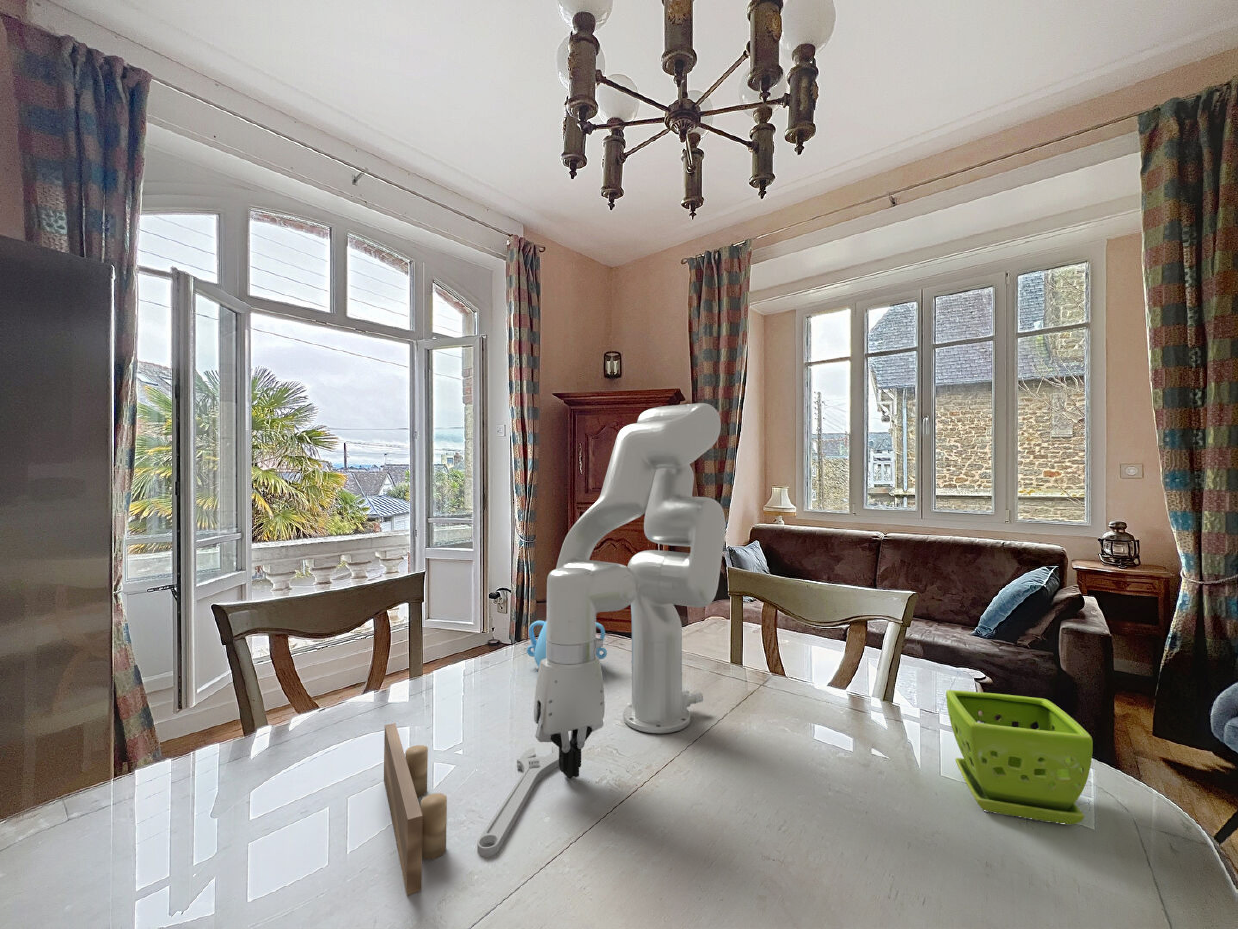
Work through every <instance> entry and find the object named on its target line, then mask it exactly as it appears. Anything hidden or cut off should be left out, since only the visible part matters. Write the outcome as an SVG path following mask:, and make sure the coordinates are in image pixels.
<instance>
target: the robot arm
mask: <svg viewBox="0 0 1238 929" xmlns="http://www.w3.org/2000/svg"><path fill="white" fill-rule="evenodd" d="M721 424H722V422H721V416H720V414H719V412H718V410H717V409H716V408H715V407H714V406H713V405H711V404H709V403H704V402H698V403H696V402H695V403H688V404H676V405H674V404H673V405H666V406H657V407H656V406H655V407H652V408H649V409H647V410H644V411H643V412H641V413H640V415H639V416H638V418H637V421H636V422H635V423H630V424H627V425H625V426H623V428H621V429H620V430H619V431H618V433H617V436H616V439H615V443H614V446H613V448H612V451H611V452H612V453H611V456H610V459H609V463H608V466H607V471H606V474H605V477H604V480H603V484H602V488H601V492H600V495H599V496H598V499H597V500H596V501H595V503H593V504H592V505H591V506H590V507H589V508H588V509H587V510H586V511H584V512H583V513H582V515H581V516H579V519H578V520H577V521H576V522H575V523H574V524H573V526H572V527H571V528H570V529H569V531H568V533H567V534H566V536H565V538H564V541H563V543H562V546H561V549H560V552H559V556H558V559H557V563H556V567H555V569H553V570H551V571H549V573H548V575H547V577H546V578H547V579H546V620H547V624H546V659H542V660H541V662H540V666H539V667H538V673H537V676H536V684H535V692H534V704H533V719H534V722H535V724H537V727H536V731H535V739H537V741H538V742H540V743H553V744H554V746H556V747H559V767H558V768H559V771H561V773H563V775H564V776H565V777H566V778H567V779H568V780H571V779H572V780H573V778H579V777H580V768H581V767H582V749H584V747H585V745H586V741H587V740H588V738H589V737H590V735H591V734H592V732H593V733H594V732H596V731H598V730H600V729H602V728H603V727H604V718H605V706H606V705H605V703H606V702H605V688H604V686H605V685H604V678H603V671H602V667H601V662H600V659H599V657H598V656H596V654H597V649H598V648H599V647H601V648H604V641H603V640H602V639H601V638H600V637H599V638H598V637H597V627H596V622H597V614H598V613H602V612H614V611H615V612H616V611H617V612H618V611H621V610H624V609H626V608H627V607H629V606H630V610H631V611H630V613H631V614H630V615H631V704H629V705H628V706H626V707H625V708H624V710H623V721H624V723H625V724H626V725H627V726H629V727H630V728H632V729H634V730H637V731H640V732H643V733H649V734H669V733H675V732H678V731H681V730H683V729H685V728H686V727H688V726H689V725H690V722H691V713H690V711H689V709H688V708H689V707H691V705H693V704H699V703H702V702H703V701H704V696H703V694H702V692H701V691H695V692H692V693H690V690H688V689H684V690H683V628H682V626H683V625H682V621H681V618H680V615H679V613H678V611H677V609H676V607H675V605H676V606H681V607H682V606H683V607H684V606H685V607H688V608H689V607H690V608H705V607H708V606H709V605H711V603H712V602H713V601H714V599H715V598H716V595H717V591H718V588H719V582H720V574H721V569H722V568H721V567H722V566H721V565H722V559H723V553H724V552H723V551H724V545H725V544H724V543H725V537H726V517H725V513H724V512H725V511H724V509H723V507H722V505H721V504H720V503H719V502H718V501H717V500H715V499H714V498H711V497H706V496H693V488H694V481H695V480H694V479H695V474H694V470H693V468H692V467H691V464H692V463H693V462H695V461H697V459H699V458H700V457H701V456H702V455H703V454H705V453H706V452H707V451H709V450H710V449H711V448H712V447H713V446H714V445H715V443H716V442H717V441H718V439H719V436H720V434H721V429H722V428H721V426H722V425H721ZM643 515H644V518H643V520H644V521H643V532H644V535H645V537H646V539H647V540H649V541H650V542H652V543H655V544H658V545H659V544H660V545H665V546H676V547H686V548H687V547H690V552H689V553H688V552H678V551H673V550H672V551H670V550H658V549H649V550H642V551H639V552H638V553H636V554H634V555H633V556H632V557H631V558H630V560H629V562H628V563H627V566H626V565H624V564H621V563H617V562H608V561H601V560H592V559H590V558H591V556H592V553H593V551H594V549H595V547H596V546H597V544H598V543H599V542H600V541H601V539H603V538H604V537H605V536H607V534H609V533H610V532H612V531H613V530H616V529H618V528H621V526H622V527H623V525H627V524H628V523H630V522H632V521H634V520H636V519H638V518H640V517H642V516H643ZM569 732H570V734H569Z"/></svg>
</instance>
